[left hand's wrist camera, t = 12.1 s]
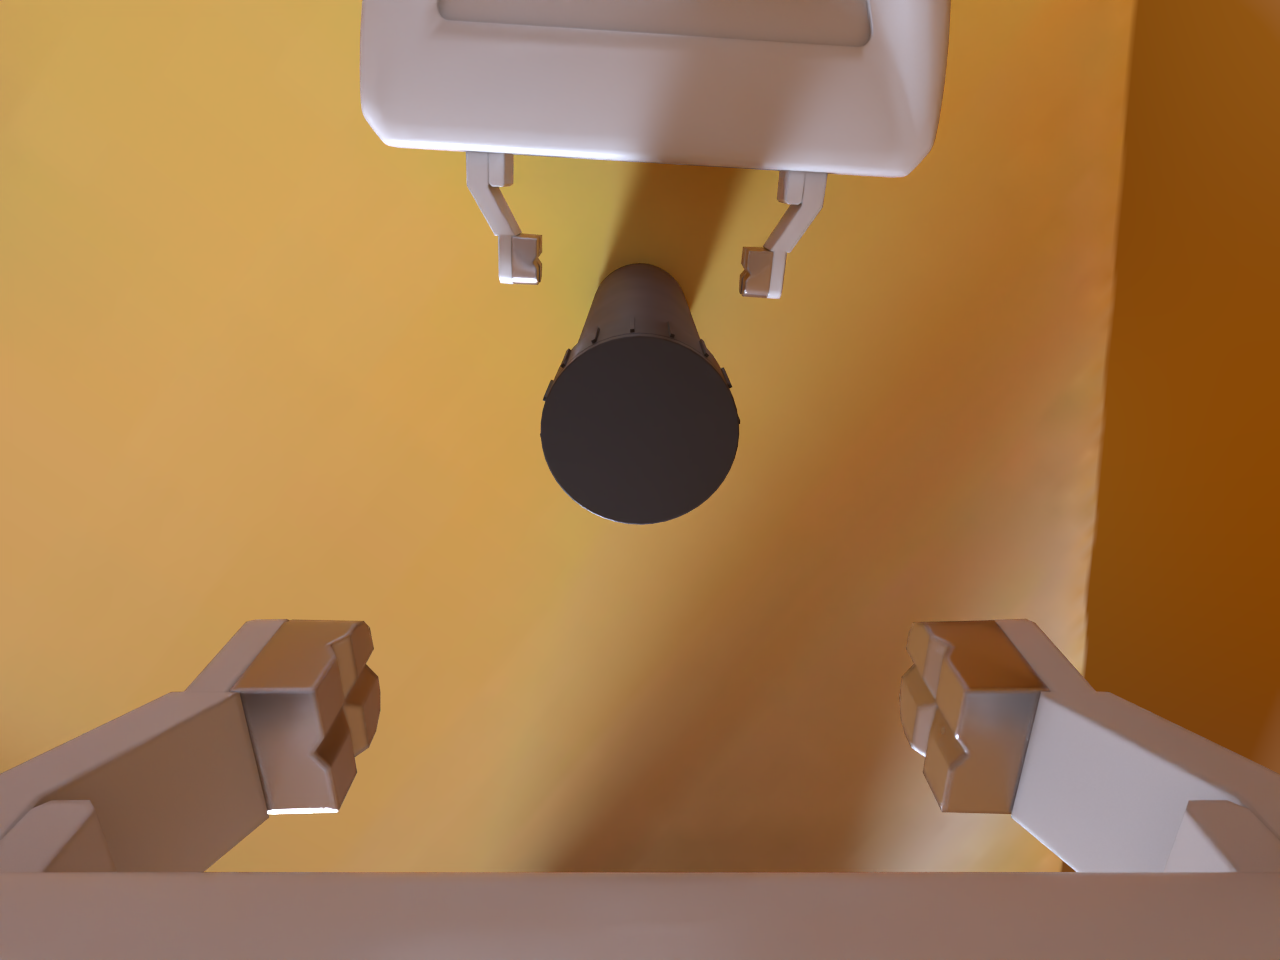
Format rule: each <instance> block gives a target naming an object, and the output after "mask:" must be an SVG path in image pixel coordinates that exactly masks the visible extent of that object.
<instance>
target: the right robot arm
mask: <svg viewBox="0 0 1280 960" xmlns="http://www.w3.org/2000/svg"><path fill="white" fill-rule="evenodd" d="M950 7H951V0H362V14H361V32H360V94H361V107H362V112H363V115H364V117H365V119H366V121H367V122H368V123H369V125H370V126H371V127H372V129H373V130H374V131H375V133H376V134H377V135H378V136H379V138H380V139H381V140H382V141H383V142H384V143H385V144H386V145H389V146H393V147H398V148H413V149H430V150H446V151H462V152H466V168H467V186H468V188H469V190H470V192H471V194H472V195H473V197H474V199H475V201H476V202H477V204H478V206H479V208H480V210H481V211H482V213H483V215H484V217H485V219H486V220H487V222H488V224H489V226H490V227H491V229H492V231H493V233H494V235H497V236H498V252H499V279H500V282H501V283H508V284H513V283H514V284H532V285H538V284H539V282H541V277H542V263H541V261H540V260H539V258H538V257H539V256H540V254H541V253H542V235H535V234H522V232H521V230H520V228H519V226H518V224H517V222H516V220H515V218H514V216H513V214H512V212H511V210H510V208H509V206H508V205H507V203H506V201H505V199H504V197H503V195H502V193H501V191H500V189H499V187H506V186H511V185H512V184H513V154H514V155H531V156H547V157H564V158H580V159H597V160H613V161H630V162H646V163H663V164H679V165H696V166H712V167H729V168H745V169H762V170H778V171H780V173H779V183H778V193H777V200H778V201H779V202H781V203H786V204H791V205H790V206H789V208H788V209H787V211H786V212H785V214H784V215H783V217H782V218H781V220H780V221H779V223H778V224H777V226H776V227H775V229H774V230H773V232H772V233H771V235H770V236H769V238H768V239H767V241H766V242H765V244H764V245H763V247H764V248H763V247H743V251H742V260H741V264H742V266H743V268H744V271H743V272H742V273H741V274H740V280H739V292H740V294H742V296H745V297H758V298H775V299H779V298H780V296H781V293H782V288H783V280H784V272H785V264H786V256H787V252H791V251H792V249H793V248H794V246H795V245H796V244H797V242H798V241H799V239H800V238H801V237H802V235H803V234H804V232H805V231H806V230H807V228H808V227H809V226H810V224H811V223H812V221H813V220H814V219H815V217H816V216H817V214H818V213H819V212H820V210H821V209H822V207H823V202H824V195H825V188H826V181H827V174H842V175H859V176H875V177H892V178H893V177H904V176H906V175H908V174H909V173H910V172H911V171H913V170H914V169H915V168H916V167H917V165H918V164H919V163H920V162H921V161H922V160H923V159H924V158H925V157H926V155H927V154H928V153H929V152H930V150H931V148H932V147H933V144H934V141H935V137H936V133H937V128H938V123H939V117H940V111H941V105H942V98H943V91H944V83H945V74H946V65H947V54H948V43H949V26H950Z"/></svg>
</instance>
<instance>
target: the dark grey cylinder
mask: <svg viewBox="0 0 1280 960" xmlns="http://www.w3.org/2000/svg"><path fill="white" fill-rule="evenodd" d="M631 317H635V319H645V320H655V321H660V322H664V323H667V324H668V321H670V322H672V324H673V326H676V327H678V328H680V329H682V330H684V331H686V332H688V333H689V334H691V335H692V336H694V337H695V338H696V339H698V340H699V341H700V337H699V335H698V332H697V329H696V326H695V324H694V321H693V318H692V315H691V313H690V310H689V307H688V304H687V302H686V299H685V296H684V293H683V291H682V289H681V287H680V286H679V284H678V283H677V281H676V280H675V279H674V278H673V277H672V276H671V275H670V274H669V273H667V272H666V271H664V270H662V269H661V268H659V267H656V266H653V265H649V264H640V263H639V264H630V265H626V266H623V267H621V268H619V269H617V270H615V271H614V272H612V273H611V274H609V275H608V276H607V277H606V278H605V279H604V281H603V282H602V283H601V285H600V286H599V288H598V290H597V292H596V294H595V297H594V300H593V302H592V305H591V308H590V311H589V314H588V316H587V319H586V322H585V325H584V327H583V330H582V333H581V336H580V339H579V341H578V343H579V342H580V341H581V340H582V339H583V338H585V337H586V336H588V335H589V334H591V333H592V332H594V329H595V327H597V326H598V327H599V328H602V327H604V326H606V325H609V324H612V323H615V322H620V321H625V320H631Z"/></svg>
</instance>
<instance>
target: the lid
mask: <svg viewBox="0 0 1280 960" xmlns="http://www.w3.org/2000/svg"><path fill="white" fill-rule="evenodd" d="M731 387H732V385H731V383H730V381H729V378H728V376H727V374H726V371H725V369H724V368H720V366H719V364H718V363H717V361H716V359H715V358H714V356H713V355H712V354H711V353H710V351H709V350H708V349H707V348H706V346H705V343H704V341H703V340H702V339H701V340H700V341H699V340H698V339H696V338H695V337H694V336H692V335H691V334H689V333H688V332H686V331H684V330H682V329H680V328H678V327H676V326H673V324H672V322H670V321H668V324H667V323H664V322H660V321H655V320H645V319H635V317H631V320H625V321H620V322H615V323H612V324H609V325H606V326H604V327H602V328H599V327H598V326H597V327H595V329H594V332H592V333H591V334H589V335H588V336H586V337H585V338H583V339H582V340H581V341H580V342H579V343H578V344H577V345H575V346H574V347H573V349H572V350H570V349H568V350H567V351H566V354H565V356H564V359H563V361H562V363H561V365H560V367H559V369H558V372H557V374H556V376H555V379H554V380H551V381H550V384H549V386H548V388H547V391H546V393H545V395H544V398H543V401H545V405H544V408H543V412H542V419H541V433H540V437H541V441H542V448H543V452H544V456H545V459H546V462H547V464H548V467H549V469H550V471H551V473H552V475H553V476H554V478H555V480H556V481H557V483H558V484H559V485H560V486H561V488H562V489H563V490H564V491H565V492H566V493H567V494H568V495H569V496H570V497H571V498H572V499H573V500H574V501H575V502H577V503H578V504H579V505H580V506H582V507H583V508H585V509H587V510H588V511H590V512H592V513H593V514H596V515H598V516H600V517H603V518H605V519H609V520H612V521H615V522H620V523H626V524H654V523H659V522H665V521H668V520H671V519H674V518H677V517H679V516H682V515H684V514H686V513H688V512H690V511H691V510H693V509H695V508H696V507H698V506H699V505H701V504H702V503H703V502H704V501H706V500H707V499H708V498H709V497H710V496H711V495H712V494H713V493H714V492H715V491H716V490H717V489H718V487H719V486H720V485H721V484H722V482H723V481H724V479H725V478H726V476H727V474H728V472H729V471H730V469H731V466H732V464H733V461H734V459H735V455H736V451H737V447H738V439H739V424H740V419H739V417H738V414H737V408H736V405H735V402H734V399H733V396H732V394H731V391H730V389H729V388H731Z"/></svg>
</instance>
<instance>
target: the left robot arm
mask: <svg viewBox="0 0 1280 960" xmlns="http://www.w3.org/2000/svg"><path fill="white" fill-rule="evenodd" d="M373 650H374V647H373V642H372V636H371V631H370V627H369V626H368V625H367V624H366V623H365V622H364V621H337V620H288V619H261V620H252V621H248V622H246V623H245V624H244V625H243V626H242V627H241V628H240V629H239V630H238V631H237V633H236V634H235V635H234V636H233V637H232V638H231V639H230V640H229V642H228V643H227V644H226V645H225V646H224V647H223V648H222V649H221V651H220V652H219V653H218V654H217V655H216V656H215V657H214V658H213V660H212V661H211V662H210V663H209V664H208V665H207V666H206V667H205V669H204V670H203V671H202V672H201V673H200V674H199V675H198V676H197V677H196V679H195V680H194V681H193V682H192V683H191V684H190V685H189V686H188V688H187V689H186V690H185V691H184V692H170V693H168V694H166V695H164V696H162V697H160V698H158V699H156V700H154V701H151V702H149V703H147V704H145V705H143V706H141V707H139V708H137V709H135V710H133V711H131V712H128V713H126V714H124V715H122V716H120V717H118V718H116V719H114V720H112V721H110V722H108V723H106V724H103V725H101V726H99V727H97V728H95V729H93V730H91V731H89V732H87V733H85V734H83V735H81V736H78V737H76V738H74V739H72V740H70V741H68V742H66V743H64V744H62V745H60V746H58V747H55V748H53V749H51V750H49V751H47V752H45V753H43V754H41V755H39V756H37V757H35V758H33V759H30V760H28V761H26V762H24V763H22V764H20V765H18V766H16V767H14V768H12V769H10V770H8V771H5V772H3V773H1V774H0V960H1280V774H1278V773H1276V772H1274V771H1272V770H1270V769H1268V768H1266V767H1264V766H1262V765H1260V764H1257V763H1255V762H1253V761H1251V760H1249V759H1247V758H1245V757H1243V756H1241V755H1239V754H1237V753H1235V752H1232V751H1230V750H1228V749H1226V748H1224V747H1222V746H1220V745H1218V744H1216V743H1214V742H1212V741H1210V740H1208V739H1205V738H1203V737H1201V736H1199V735H1197V734H1195V733H1193V732H1191V731H1189V730H1187V729H1185V728H1183V727H1180V726H1178V725H1176V724H1174V723H1172V722H1170V721H1168V720H1166V719H1164V718H1162V717H1160V716H1158V715H1156V714H1153V713H1151V712H1149V711H1147V710H1145V709H1143V708H1141V707H1139V706H1137V705H1135V704H1133V703H1131V702H1128V701H1126V700H1124V699H1122V698H1120V697H1118V696H1116V695H1114V694H1112V693H1110V692H1096V691H1095V690H1094V689H1093V688H1092V687H1091V685H1090V684H1089V683H1088V682H1087V681H1086V680H1085V679H1084V678H1083V676H1082V675H1081V674H1080V673H1079V672H1078V671H1077V670H1076V669H1075V667H1074V666H1073V665H1072V664H1071V663H1070V662H1069V661H1068V660H1067V658H1066V657H1065V656H1064V655H1063V654H1062V653H1061V652H1060V651H1059V649H1058V648H1057V647H1056V646H1055V645H1054V644H1053V643H1052V642H1051V640H1050V639H1049V638H1048V637H1047V636H1046V635H1045V634H1044V633H1043V631H1042V630H1041V629H1040V628H1039V627H1038V626H1037V625H1036V624H1035V623H1034V622H1032V621H1030V620H1027V619H1007V620H985V621H946V622H913V624H912V627H911V629H910V631H909V635H908V641H907V647H906V650H907V651H908V653H909V655H910V657H911V659H912V661H913V662H914V665H913V666H912V667H911V668H910V669H909V670H908V671H907V672H906V673H905V674H904V675H903V676H902V679H901V688H900V696H899V701H900V714H901V721H902V725H903V728H904V732H905V735H906V737H907V739H908V742H909V744H910V746H911V748H913V749H914V750H916V751H917V752H918V753H920V754H921V755H923V756H924V757H925V763H924V769H923V774H924V776H925V778H926V780H927V782H928V784H929V786H930V788H931V790H932V792H933V794H934V796H935V798H936V801H937V803H938V805H939V807H940V809H941V811H942V812H959V813H995V814H1011V818H1013V819H1014V820H1015V821H1016V822H1017V823H1019V824H1020V825H1021V826H1022V827H1023V828H1025V829H1026V830H1027V831H1028V832H1029V833H1031V834H1032V835H1033V836H1034V837H1035V838H1037V839H1038V840H1039V841H1040V842H1041V843H1043V844H1044V845H1045V846H1046V847H1047V848H1049V849H1050V850H1051V851H1052V852H1053V853H1055V854H1056V855H1057V856H1058V857H1059V858H1061V859H1062V860H1063V861H1064V862H1065V863H1067V864H1068V865H1069V866H1070V867H1071V868H1073V869H1074V870H1075V871H1076V872H204V871H205V870H206V869H208V868H209V867H210V866H211V865H212V864H214V863H215V862H216V861H217V860H218V859H220V858H221V857H222V856H223V855H224V854H226V853H227V852H228V851H229V850H230V849H232V848H233V847H234V846H235V845H236V844H238V843H239V842H240V841H241V840H242V839H244V838H245V837H246V836H247V835H248V834H250V833H251V832H252V831H253V830H255V829H256V828H257V827H258V826H259V825H261V824H262V823H263V822H264V821H265V820H267V819H268V818H269V815H268V814H284V813H319V812H338V811H339V809H340V807H341V805H342V803H343V801H344V799H345V796H346V794H347V792H348V790H349V788H350V786H351V784H352V782H353V780H354V778H355V776H356V774H357V769H356V763H355V757H356V756H357V755H359V754H360V753H362V752H363V751H364V750H366V749H367V748H369V746H370V744H371V741H372V739H373V737H374V735H375V732H376V729H377V724H378V719H379V714H380V686H379V679H378V676H377V675H376V674H375V673H374V672H373V671H372V670H371V669H370V668H369V667H368V666H367V665H366V662H367V661H368V659H369V657H370V655H371V653H372V651H373Z"/></svg>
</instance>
